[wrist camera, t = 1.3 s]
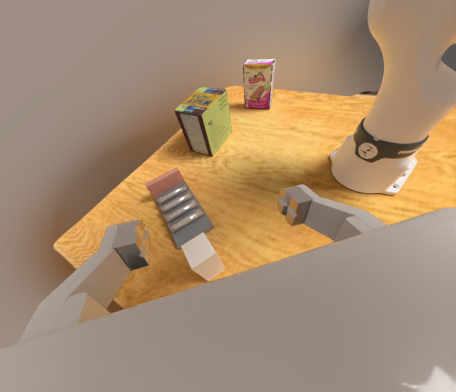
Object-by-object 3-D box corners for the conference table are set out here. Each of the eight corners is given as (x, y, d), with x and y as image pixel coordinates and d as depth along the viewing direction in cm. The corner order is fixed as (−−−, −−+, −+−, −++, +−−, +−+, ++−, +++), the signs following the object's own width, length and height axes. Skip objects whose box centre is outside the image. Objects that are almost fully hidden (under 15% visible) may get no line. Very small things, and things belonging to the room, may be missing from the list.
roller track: (184, 180, 54) (176, 167, 49) (214, 227, 43) (208, 216, 38) (155, 196, 52) (144, 183, 47) (179, 249, 41) (168, 240, 36)
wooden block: (216, 252, 40) (203, 231, 30) (226, 268, 37) (215, 252, 27) (199, 263, 39) (180, 246, 29) (208, 281, 36) (191, 269, 26)
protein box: (232, 131, 66) (227, 88, 54) (212, 157, 59) (201, 114, 46) (210, 127, 70) (200, 86, 57) (189, 150, 63) (172, 109, 50)
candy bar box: (244, 108, 75) (242, 64, 61) (247, 103, 77) (245, 59, 64) (269, 110, 71) (273, 63, 58) (272, 103, 74) (275, 57, 61)
